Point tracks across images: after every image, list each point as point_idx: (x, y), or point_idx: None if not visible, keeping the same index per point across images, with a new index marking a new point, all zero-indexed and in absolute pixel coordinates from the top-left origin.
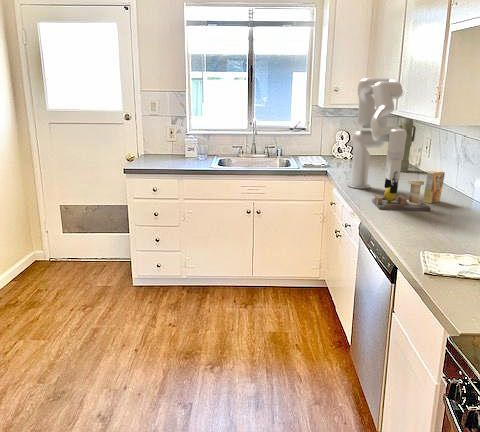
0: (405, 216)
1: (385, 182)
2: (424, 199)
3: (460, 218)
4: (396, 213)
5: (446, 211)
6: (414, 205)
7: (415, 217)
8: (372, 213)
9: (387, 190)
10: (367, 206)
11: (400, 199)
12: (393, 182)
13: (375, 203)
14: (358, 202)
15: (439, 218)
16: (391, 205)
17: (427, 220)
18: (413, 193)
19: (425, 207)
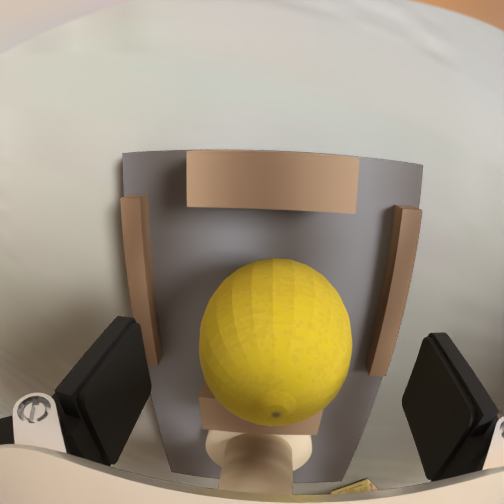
0: (23, 296)
1: (464, 386)
2: (362, 491)
3: None
4: (60, 263)
5: None
6: (208, 432)
7: (28, 341)
8: (35, 85)
9: (238, 324)
10: (225, 62)
11: None
12: (21, 444)
13: (286, 151)
14: (366, 21)
15: None
16: (130, 269)
17: (12, 369)
18: None
19: (175, 459)
